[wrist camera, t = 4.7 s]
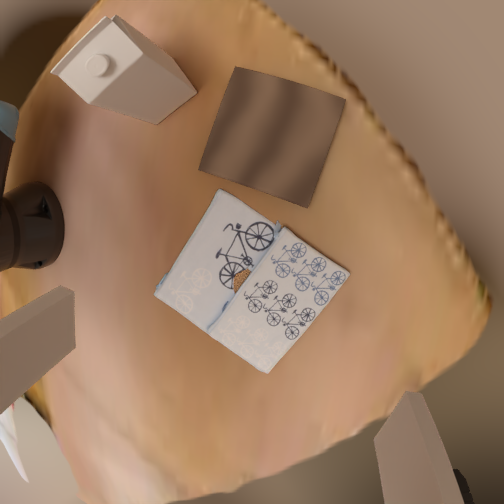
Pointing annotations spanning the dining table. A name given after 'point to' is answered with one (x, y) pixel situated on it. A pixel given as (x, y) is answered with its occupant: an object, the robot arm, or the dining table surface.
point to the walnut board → (272, 135)
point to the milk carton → (124, 72)
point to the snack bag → (249, 282)
